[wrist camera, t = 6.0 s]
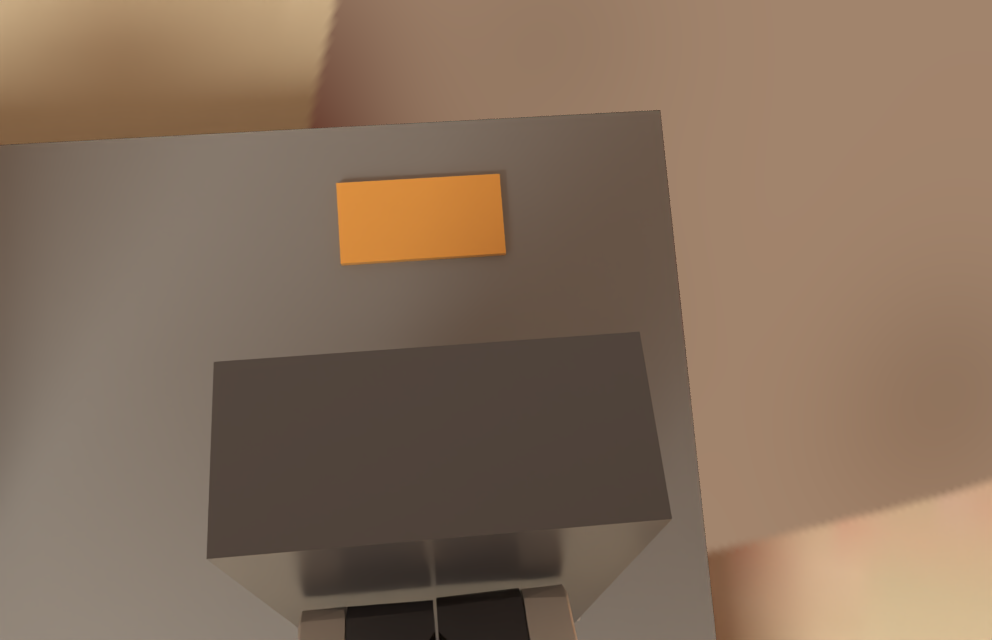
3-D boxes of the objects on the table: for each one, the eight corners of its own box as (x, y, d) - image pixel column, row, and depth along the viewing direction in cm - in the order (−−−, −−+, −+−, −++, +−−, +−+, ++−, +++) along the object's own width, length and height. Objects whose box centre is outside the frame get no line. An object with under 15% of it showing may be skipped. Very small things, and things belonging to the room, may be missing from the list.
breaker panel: (627, 158, 22) (662, 106, 19) (700, 876, 20) (753, 963, 16) (-354, 214, 20) (-511, 168, 17) (-390, 1001, 18) (-577, 1127, 15)
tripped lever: (563, 538, 18) (670, 329, 9) (576, 636, 17) (705, 516, 8) (321, 559, 17) (181, 363, 8) (323, 660, 17) (169, 562, 8)
